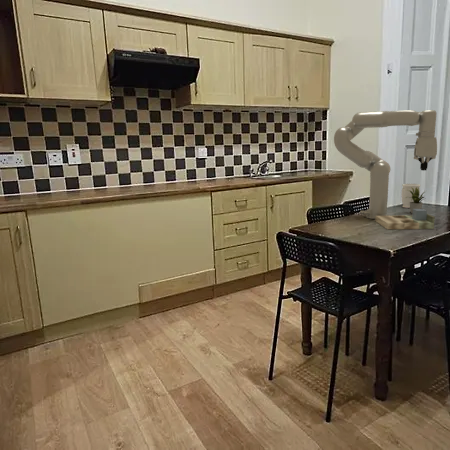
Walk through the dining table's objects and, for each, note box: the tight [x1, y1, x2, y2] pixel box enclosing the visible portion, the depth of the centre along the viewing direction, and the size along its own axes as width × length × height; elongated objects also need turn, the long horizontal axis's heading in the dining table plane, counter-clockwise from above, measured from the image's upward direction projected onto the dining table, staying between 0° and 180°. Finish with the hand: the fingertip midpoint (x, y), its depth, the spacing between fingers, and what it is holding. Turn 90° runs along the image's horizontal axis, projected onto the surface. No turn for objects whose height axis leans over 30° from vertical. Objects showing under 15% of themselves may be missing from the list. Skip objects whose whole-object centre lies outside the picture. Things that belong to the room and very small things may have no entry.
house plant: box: [404, 187, 426, 214], centre depth 222 cm, size 14×14×16 cm
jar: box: [401, 183, 421, 209], centre depth 240 cm, size 11×10×15 cm
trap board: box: [374, 213, 436, 230], centre depth 192 cm, size 22×20×6 cm
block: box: [411, 208, 428, 220], centre depth 190 cm, size 5×5×5 cm
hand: (423, 170), depth 197 cm, fingers closed
